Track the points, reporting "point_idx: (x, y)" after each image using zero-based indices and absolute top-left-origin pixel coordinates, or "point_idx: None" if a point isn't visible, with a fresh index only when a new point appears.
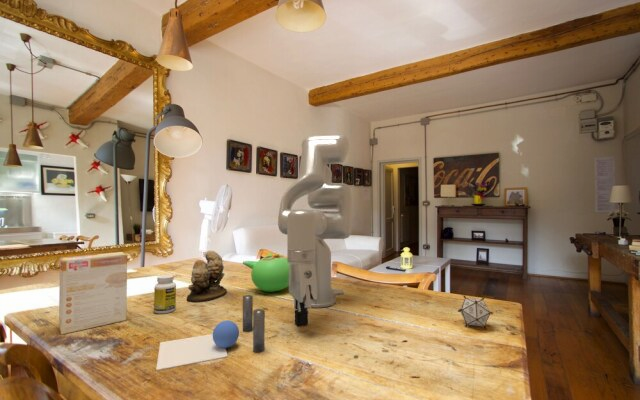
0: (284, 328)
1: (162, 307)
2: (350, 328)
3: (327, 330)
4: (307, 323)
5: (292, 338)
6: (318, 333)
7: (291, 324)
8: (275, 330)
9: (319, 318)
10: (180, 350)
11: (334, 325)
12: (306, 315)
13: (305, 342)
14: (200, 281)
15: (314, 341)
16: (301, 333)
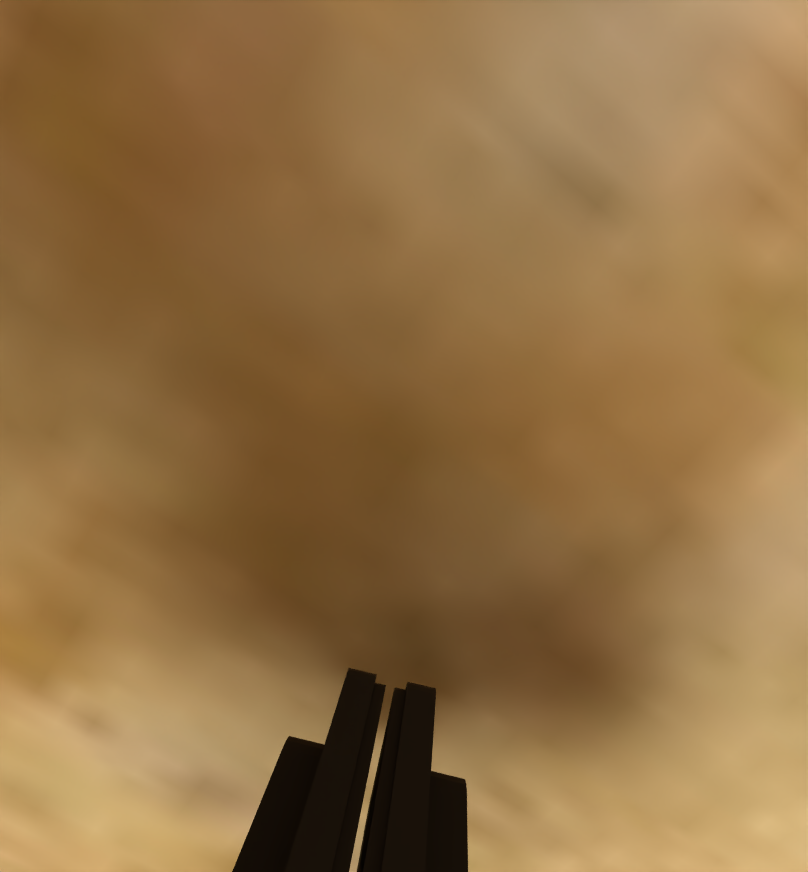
0: (218, 778)
1: None
2: (802, 35)
3: (596, 420)
4: (433, 705)
5: (514, 859)
6: (595, 577)
7: (146, 662)
8: (220, 866)
9: (122, 226)
10: None
11: (508, 201)
12: (423, 846)
13: (700, 825)
14: None
15: (755, 746)
16: (458, 725)
